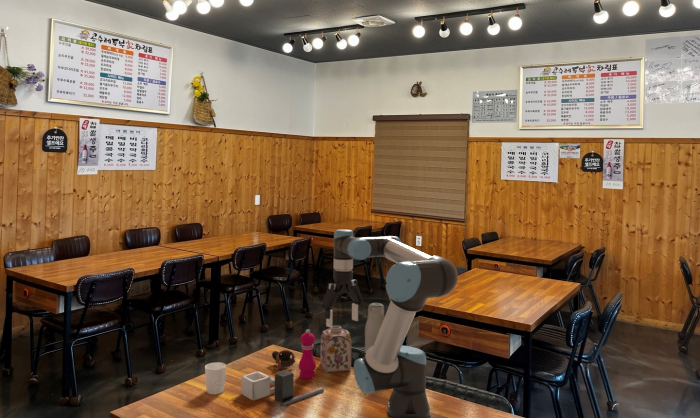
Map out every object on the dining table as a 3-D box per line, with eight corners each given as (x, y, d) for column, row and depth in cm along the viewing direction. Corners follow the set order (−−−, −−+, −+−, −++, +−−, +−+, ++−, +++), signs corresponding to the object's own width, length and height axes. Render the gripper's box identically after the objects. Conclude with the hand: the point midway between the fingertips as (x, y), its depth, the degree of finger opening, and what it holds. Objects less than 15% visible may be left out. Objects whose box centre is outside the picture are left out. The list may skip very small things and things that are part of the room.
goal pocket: (270, 394, 200) (270, 377, 199) (253, 400, 195) (253, 382, 194) (258, 388, 206) (258, 371, 205) (241, 393, 200) (241, 376, 200)
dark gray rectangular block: (293, 399, 196) (293, 373, 195) (282, 403, 192) (282, 376, 192) (269, 386, 207) (269, 362, 206) (258, 390, 203) (258, 365, 203)
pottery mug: (299, 364, 233) (299, 352, 229) (288, 380, 226) (288, 367, 222) (277, 354, 238) (276, 341, 233) (265, 369, 231) (264, 356, 226)
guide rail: (323, 391, 204) (323, 388, 204) (282, 406, 190) (282, 403, 190) (321, 390, 205) (321, 387, 205) (280, 405, 191) (280, 402, 191)
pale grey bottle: (381, 360, 240) (382, 299, 238) (389, 367, 230) (391, 305, 228) (361, 362, 236) (362, 301, 235) (368, 370, 227) (370, 306, 225)
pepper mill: (313, 380, 215) (313, 332, 213) (296, 378, 216) (296, 331, 215) (317, 373, 222) (318, 327, 220) (301, 372, 223) (301, 326, 222)
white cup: (200, 392, 201) (200, 367, 200) (214, 385, 208) (214, 360, 207) (216, 396, 197) (216, 371, 197) (230, 389, 204) (230, 364, 204)
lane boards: (293, 386, 208) (293, 382, 208) (269, 395, 200) (269, 389, 200) (281, 380, 213) (281, 376, 213) (257, 388, 206) (257, 383, 205)
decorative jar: (351, 371, 226) (352, 330, 224) (324, 373, 223) (325, 331, 222) (345, 361, 237) (345, 322, 236) (320, 363, 234) (320, 323, 233)
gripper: (359, 264, 213) (358, 315, 215) (312, 271, 196) (311, 327, 198) (372, 267, 208) (371, 319, 209) (325, 274, 191) (324, 331, 192)
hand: (342, 323), depth 203 cm, fingers open, 13 cm apart
